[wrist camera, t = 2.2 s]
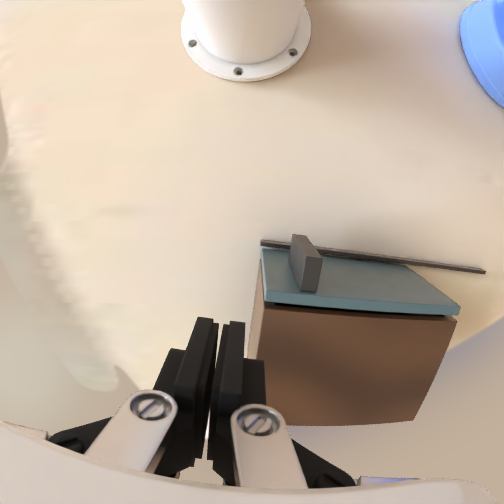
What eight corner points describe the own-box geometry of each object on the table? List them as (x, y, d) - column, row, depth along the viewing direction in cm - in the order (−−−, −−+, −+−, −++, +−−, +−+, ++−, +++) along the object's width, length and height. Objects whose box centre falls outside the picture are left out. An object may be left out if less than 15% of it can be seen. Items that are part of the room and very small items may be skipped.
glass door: (265, 223, 30) (271, 253, 20) (411, 244, 30) (469, 277, 20) (260, 256, 31) (264, 301, 20) (404, 273, 31) (457, 315, 21)
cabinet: (260, 239, 31) (264, 280, 20) (481, 268, 32) (541, 303, 21) (245, 349, 34) (242, 422, 23) (451, 355, 35) (495, 405, 24)
